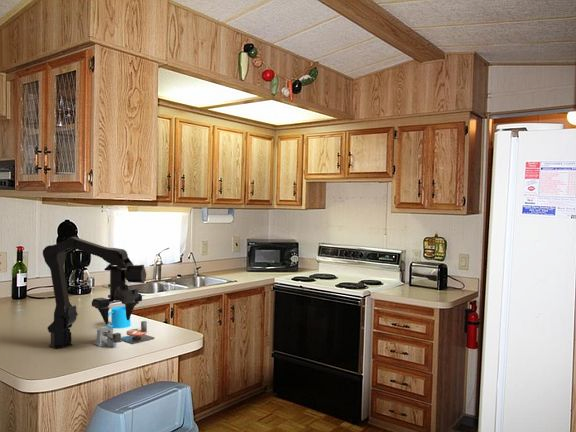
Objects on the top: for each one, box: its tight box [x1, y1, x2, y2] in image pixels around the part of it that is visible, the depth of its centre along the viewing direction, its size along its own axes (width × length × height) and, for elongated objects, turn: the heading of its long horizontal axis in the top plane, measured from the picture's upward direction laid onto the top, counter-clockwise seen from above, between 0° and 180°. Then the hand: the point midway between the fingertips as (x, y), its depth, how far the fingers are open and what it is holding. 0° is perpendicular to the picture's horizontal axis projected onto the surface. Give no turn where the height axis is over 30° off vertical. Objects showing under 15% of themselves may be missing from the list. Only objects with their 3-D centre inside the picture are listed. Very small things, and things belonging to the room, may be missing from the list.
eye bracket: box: [93, 326, 117, 348], centre depth 192 cm, size 7×8×6 cm
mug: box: [105, 305, 131, 329], centre depth 219 cm, size 12×8×8 cm
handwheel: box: [126, 320, 148, 336], centre depth 199 cm, size 8×8×6 cm
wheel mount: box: [121, 334, 155, 345], centre depth 200 cm, size 10×10×1 cm
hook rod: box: [103, 331, 122, 344], centre depth 191 cm, size 2×13×3 cm, turn 51°
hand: (117, 322), depth 188 cm, fingers open, 9 cm apart
